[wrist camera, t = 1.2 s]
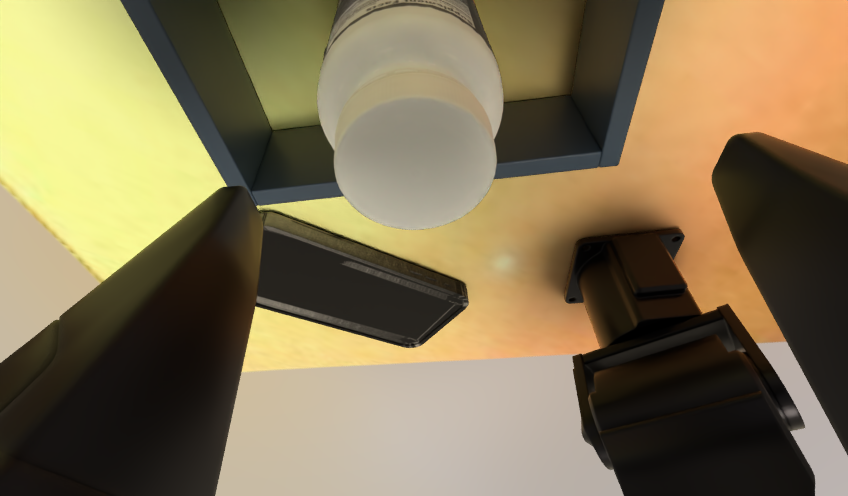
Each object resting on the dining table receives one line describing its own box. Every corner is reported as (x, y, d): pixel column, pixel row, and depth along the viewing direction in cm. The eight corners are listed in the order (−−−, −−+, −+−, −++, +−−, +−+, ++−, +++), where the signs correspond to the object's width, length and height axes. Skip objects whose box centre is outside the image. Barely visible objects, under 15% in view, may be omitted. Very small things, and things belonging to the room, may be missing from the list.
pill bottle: (462, 91, 19) (497, 252, 13) (341, 82, 19) (311, 246, 12) (487, -52, 15) (557, 74, 9) (334, -69, 15) (284, 53, 8)
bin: (585, 108, 20) (618, 166, 17) (262, 146, 21) (239, 208, 18) (639, -179, 13) (713, -167, 10) (147, -104, 14) (77, -73, 11)
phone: (415, 350, 34) (216, 296, 27) (415, 337, 34) (221, 282, 28) (476, 299, 29) (252, 218, 23) (474, 285, 30) (257, 204, 23)
